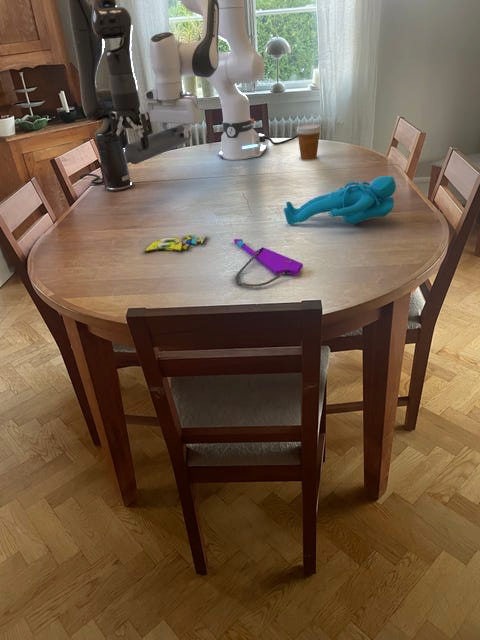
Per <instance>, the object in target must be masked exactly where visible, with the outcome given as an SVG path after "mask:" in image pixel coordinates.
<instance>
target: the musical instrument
mask: <svg viewBox="0 0 480 640" xmlns="http://www.w3.org/2000/svg"><path fill="white" fill-rule="evenodd" d="M233 243H235V244H236V245H237V246H238V247H239V248H240V249H242V250H244V251H245V252H246V253H248V254H249V255H250V256H252V257H251V258H250V259H249V260H248V261H247V262H246V263H245V264H244V265H243V266H242V267H241V268H240V270H239V271H238V272H237V273H236V275H235V283H236V284H237V285H240V286H245V287H262V286H266V285H268V284H270V283H272V282H274V281H276V280H278V279H280V278H281V277H282V276H283V275H285V274H288V275H295V276H296V275H299V274H300V272H301V271H302V270H303V268H304V263H302V262H300V261H298V260H295V259H292V258H290V257H289V256H285V255H283V254H280V253H278V252H275V251H274V250H271V249H268V248H266V247H264V246H262V247H260V248H259V249H257V250H254V249H252V248H251V247H250V246H248V245H247V244H246V243H245V242H244V241H243V239H242V238H234V239H233ZM253 260H256V261H258V262H260V264H262V265H263V266H264V267H266V268H267V269H268V270H269V271H271V272H272V273H273V274H275V275H277V276H274V277H273V278H271V279H269V280H268V281H264V282H261V283H254V284H253V283H246V282H241V281H240V280H239V278H240V275H241V274H242V272H243V271H244V270H245V269H246V268H247V266H248V265H250V264H251V263H252V262H253Z"/></svg>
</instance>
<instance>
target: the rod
mask: <svg viewBox="0 0 480 640" xmlns="http://www.w3.org/2000/svg"><path fill="white" fill-rule="evenodd" d="M184 129H185V127H183V124H177V125H175V126H172V127H170V128H168V129H167V130H164V131H163V130H162V131H159V132H157V133H152V134H150V135H148V142H149V148H148V149H147V150H142V146H141V140H140V139H137V140H135V141H132V142H129V143H127V145H126V146H125V148H124V149H125V156H126V159H127V162H129V163H131V164H132V165H138V164H140V163H142V162H144V161H147V160H150V159H151V158H154V157H156V156H159V155H162V154H164V153H166V152H168V151H170V150H172V149H176V148H178V147H181V146H182V145H185V144H187V143H189V142H190V140H191V136H192V133H191V130H190V129H189V131H188V134H189V137H188V138H183V137H182V132H184Z"/></svg>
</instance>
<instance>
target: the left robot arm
mask: <svg viewBox="0 0 480 640" xmlns="http://www.w3.org/2000/svg"><path fill="white" fill-rule="evenodd" d="M66 1H67V7H68V14H69V21H70V29H71V33H72V40H73V45H74V50H75V56H76V61H77V68H78V75H79V86H80V87H79V88H80V89H79V90H80V100H81V106H82V110H83V112H84V115H85V117H86V118H87V119H88V120H89V121H90V122H99V121H102V125H101V126H100V127H99V128H97V130H96V131H95V132H94V139H95V143H96V147H97V153H98V156H99V160H100V162H99V163H98V164H99V168H100V173H101V176H100V175H99V174H95V173H84V174H83V173H82V174H81V175H80V176H79V180H81V179H83V178H84V177H94V178H93V179H92V180H91V181H90V183H91V184H93V185H102V184H103V185H104V189H106V190H107V191H111V192H120V191H124V190H127V189H130V188H132V187H133V184H132V179H131V175H130V170H129V169H130V168H129V165H128V159H127V158H126V156H125V146H126V145H127V144H128V139H127V135H126V134H125V133H126V131H127V129H131V130H134V132H136V133H137V134H138V136H139V140H141V146H142V150H147V149H148V148H149V142H148V136H151V135H153V134H154V133H153V131H154V130H153V128H152V122H151V121H150V117H149V113H148V112H146V111H145V112H143V113H141V111H140V107H141V101H140V96H139V91H138V90H139V89H138V84H137V80H136V76H135V73H134V65H133V60H132V51H131V49H132V33H133V20H132V15H131V14H130V12H129V10H127V8H126V7H124V6H117V0H66ZM113 39H119V43H118V45H117V46H115V47H112V48H109V49H108V50H106V51H105V52H104V48H105V40H113ZM103 54H104V58H105V62H106V69H107V74H108V83H109V84H108V85H109V88H101V89H97V72H98V69H99V66H100V63H101V60H102V57H103ZM101 177H102V178H101ZM99 180H101V181H99Z"/></svg>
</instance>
